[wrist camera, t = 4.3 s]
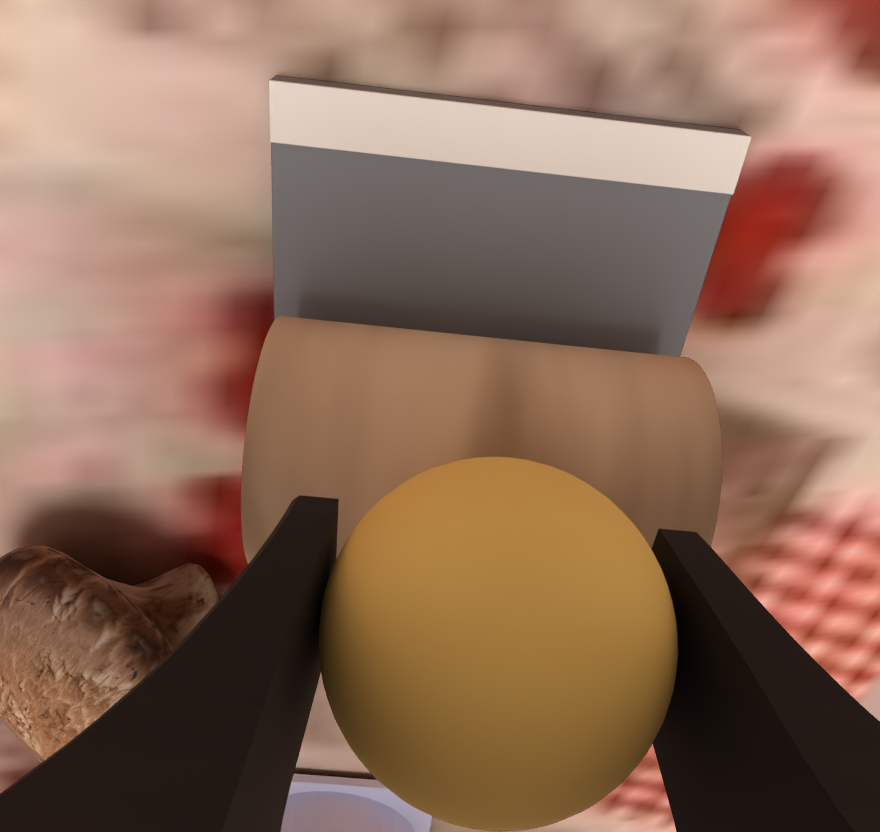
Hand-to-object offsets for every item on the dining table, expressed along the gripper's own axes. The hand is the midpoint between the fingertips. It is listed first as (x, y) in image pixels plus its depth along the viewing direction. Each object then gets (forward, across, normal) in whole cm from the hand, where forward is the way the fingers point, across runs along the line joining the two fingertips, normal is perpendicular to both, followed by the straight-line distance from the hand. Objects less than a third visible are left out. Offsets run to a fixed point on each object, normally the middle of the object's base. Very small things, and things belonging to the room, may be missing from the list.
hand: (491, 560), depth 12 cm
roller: (+8, 0, +2) cm, 8 cm away
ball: (+1, 0, 0) cm, 1 cm away
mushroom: (+8, +10, +10) cm, 17 cm away
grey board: (+8, 0, +2) cm, 9 cm away
